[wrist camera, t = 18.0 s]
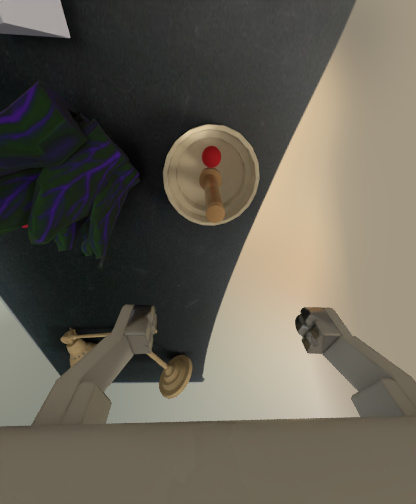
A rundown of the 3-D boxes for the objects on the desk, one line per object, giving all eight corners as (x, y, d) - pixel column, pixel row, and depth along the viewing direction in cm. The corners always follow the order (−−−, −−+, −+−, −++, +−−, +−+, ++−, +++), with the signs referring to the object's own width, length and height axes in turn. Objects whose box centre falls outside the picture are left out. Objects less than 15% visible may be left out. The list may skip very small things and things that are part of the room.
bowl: (260, 127, 29) (270, 129, 25) (243, 214, 38) (248, 226, 34) (165, 120, 28) (158, 120, 24) (171, 211, 37) (166, 223, 33)
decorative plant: (150, 172, 41) (54, 249, 43) (-2, -10, 20) (-174, 159, 22) (183, 227, 29) (49, 329, 31) (-104, -82, 8) (-450, 297, 10)
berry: (219, 167, 32) (221, 146, 30) (220, 169, 29) (222, 146, 27) (201, 166, 31) (202, 145, 30) (201, 168, 29) (201, 145, 27)
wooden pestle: (222, 167, 32) (235, 198, 19) (219, 190, 34) (230, 230, 22) (199, 166, 32) (198, 196, 19) (198, 188, 34) (197, 229, 21)
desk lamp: (196, 389, 62) (111, 317, 47) (121, 422, 68) (25, 367, 53) (196, 350, 75) (131, 284, 60) (134, 380, 82) (60, 328, 67)
